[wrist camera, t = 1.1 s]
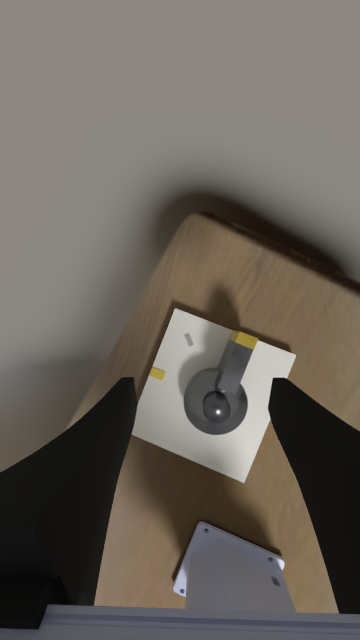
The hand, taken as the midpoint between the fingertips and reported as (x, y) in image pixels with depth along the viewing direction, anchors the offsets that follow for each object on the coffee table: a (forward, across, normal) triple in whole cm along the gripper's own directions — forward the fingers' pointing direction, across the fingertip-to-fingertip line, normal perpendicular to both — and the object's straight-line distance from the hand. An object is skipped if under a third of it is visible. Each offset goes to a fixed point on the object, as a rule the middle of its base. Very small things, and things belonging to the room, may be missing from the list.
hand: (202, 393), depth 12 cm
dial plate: (+10, -2, +8) cm, 13 cm away
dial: (+9, -3, +6) cm, 12 cm away
